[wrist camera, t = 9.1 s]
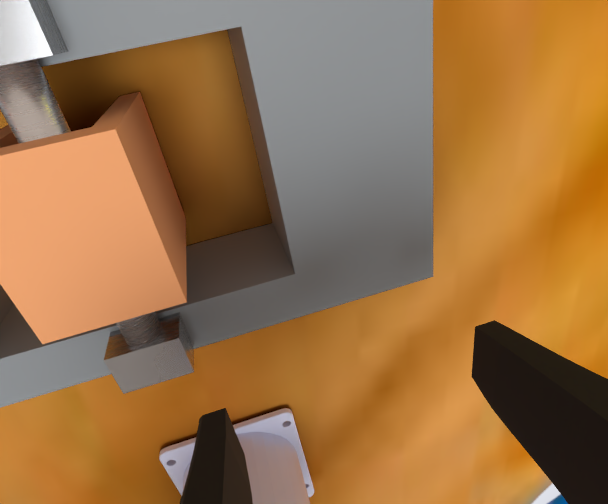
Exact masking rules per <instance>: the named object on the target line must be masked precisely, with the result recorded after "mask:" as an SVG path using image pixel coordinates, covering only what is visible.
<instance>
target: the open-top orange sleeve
mask: <svg viewBox="0 0 608 504" xmlns="http://www.w3.org/2000/svg"><path fill="white" fill-rule="evenodd" d="M0 284H1V286H2V287H3V289H4V290H5V291H6V293H7V294H8V296H9V297H10V299H11V300H12V301H13V303H14V304H15V306H16V307H17V309H18V310H19V312H20V313H21V314H22V316H23V317H24V319H25V320H26V322H27V323H28V324H29V326H30V327H31V329H32V330H33V332H34V333H35V334H36V336H37V337H38V339H39V340H40V342H41V343H42V344H45V343H49V342H52V341H56V340H59V339H63V338H66V337H69V336H73V335H76V334H80V333H83V332H87V331H90V330H93V329H97V328H100V327H104V326H107V325H111V324H114V323H117V322H121V321H124V320H128V319H131V318H135V317H138V316H141V315H145V314H148V313H152V312H155V311H159V310H162V309H165V308H169V307H172V306H176V305H179V304H183V303H186V302H187V276H186V217H185V214H184V212H183V209H182V206H181V203H180V201H179V198H178V195H177V192H176V190H175V187H174V184H173V181H172V179H171V176H170V173H169V170H168V168H167V165H166V162H165V159H164V157H163V154H162V151H161V148H160V146H159V143H158V140H157V137H156V135H155V132H154V129H153V126H152V124H151V121H150V118H149V115H148V113H147V110H146V107H145V104H144V102H143V99H142V96H141V93H140V92H136V93H132V94H127V95H123V96H119V97H118V98H117V100H116V101H115V102H114V103H113V104H112V105H111V106H110V107H109V109H108V110H107V111H106V112H105V113H104V114H103V115H102V116H101V117H100V119H99V120H98V121H97V122H96V123H95V124H94V125H93V126H92V127H90V128H85V129H81V130H77V131H72V132H68V133H63V134H59V135H55V136H50V137H46V138H41V139H37V140H33V141H28V142H24V143H20V144H19V143H18V141H17V139H16V138H15V136H14V134H13V132H12V130H11V128H10V127H9V125H7V126H5V127H4V128H2V129H0Z"/></svg>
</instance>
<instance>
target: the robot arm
mask: <svg viewBox="0 0 608 504" xmlns="http://www.w3.org/2000/svg"><path fill="white" fill-rule="evenodd" d="M472 378H473V379H474V381H475V382H476V384H477V386H478V387H479V389H480V390H481V392H482V394H483V395H484V397H485V398H486V400H487V401H488V403H489V404H490V406H491V407H492V409H493V410H494V411H495V413H496V414H497V415H498V416H499V418H500V419H501V420H502V421H503V423H504V424H505V425H506V426H507V428H508V429H509V430H510V431H511V433H512V434H513V435H514V436H515V437H516V439H517V440H518V441H519V442H520V444H521V445H522V446H523V447H524V448H525V450H526V451H527V452H528V453H529V455H530V456H531V457H532V458H533V459H534V461H535V462H536V463H537V464H538V465H539V467H540V468H541V469H542V470H543V472H544V473H545V474H546V475H547V476H548V478H549V479H550V480H551V481H552V483H553V484H554V485H555V487H556V488H557V489H558V491H559V492H560V493H561V494H562V496H563V497H564V498H565V500H566V501H567V503H568V504H608V379H606V378H604V377H602V376H600V375H598V374H596V373H594V372H592V371H590V370H588V369H586V368H584V367H582V366H580V365H578V364H576V363H574V362H572V361H570V360H568V359H566V358H564V357H562V356H560V355H558V354H556V353H554V352H553V351H551V350H549V349H547V348H545V347H543V346H541V345H539V344H538V343H536V342H534V341H532V340H530V339H528V338H526V337H525V336H523V335H521V334H519V333H517V332H515V331H514V330H512V329H510V328H508V327H506V326H504V325H502V324H500V323H498V322H497V321H492V322H488V323H485V324H482V325H479V326H476V327H475V337H474V352H473V366H472ZM159 459H160V461H161V463H162V465H163V466H164V468H165V469H166V471H167V473H168V474H169V476H170V478H171V479H172V481H173V483H174V484H175V486H176V488H177V489H178V491H179V492H180V494H181V496H182V497H181V501H180V504H310V501H309V497H311V496H312V495H313V494H314V488H313V484H312V481H311V477H310V474H309V470H308V467H307V463H306V460H305V456H304V452H303V449H302V445H301V442H300V438H299V435H298V431H297V428H296V424H295V421H294V417H293V414H292V411H291V410H290V409H288V408H283V409H280V410H277V411H274V412H271V413H268V414H265V415H262V416H259V417H256V418H253V419H249V420H246V421H243V422H240V423H237V424H234V425H232V423H231V420H230V418H229V415H228V413H227V410H226V408H224V409H221V410H218V411H215V412H212V413H208V414H205V415H202V417H201V418H200V420H199V425H198V431H197V436H196V437H195V438H192V439H189V440H186V441H183V442H180V443H177V444H174V445H171V446H168V447H165V448H163V449H162V450H161V451H160V453H159Z"/></svg>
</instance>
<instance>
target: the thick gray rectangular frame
mask: <svg viewBox="0 0 608 504" xmlns="http://www.w3.org/2000/svg"><path fill="white" fill-rule="evenodd" d="M226 29H227V31H228V35H229V39H230V44H231V48H232V52H233V56H234V61H235V65H236V69H237V73H238V78H239V82H240V86H241V90H242V95H243V99H244V103H245V107H246V112H247V116H248V120H249V125H250V129H251V133H252V137H253V142H254V146H255V150H256V154H257V159H258V163H259V167H260V171H261V176H262V180H263V184H264V188H265V193H266V197H267V201H268V206H269V210H270V214H271V218H272V223H271V224H267V225H263V226H260V227H256V228H252V229H248V230H245V231H241V232H237V233H233V234H230V235H226V236H222V237H219V238H215V239H211V240H207V241H204V242H200V243H196V244H193V245H189V246H186V276H187V302H186V303H183V304H179V305H176V306H172V307H169V308H165V309H162V310H159V311H155V312H152V313H148V314H145V315H141V316H138V317H135V318H131V319H128V320H124V321H121V322H117V323H114V324H111V325H107V326H104V327H100V328H97V329H93V330H90V331H87V332H83V333H80V334H76V335H73V336H69V337H66V338H63V339H59V340H56V341H52V342H49V343H45V344H42V343H41V342H40V340H39V339H38V337H37V336H36V334H35V333H34V332H33V330H32V329H31V327H30V326H29V324H28V323H27V322H26V320H25V319H24V317H23V316H22V314H21V313H20V312H19V310H18V309H17V307H16V306H15V304H14V303H13V301H12V300H11V299H10V297H9V296H8V294H7V293H6V291H5V290H4V289H3V287H2V286H1V284H0V407H4V406H7V405H10V404H14V403H17V402H20V401H24V400H27V399H30V398H33V397H37V396H40V395H43V394H47V393H50V392H53V391H57V390H60V389H63V388H67V387H70V386H73V385H76V384H80V383H83V382H86V381H90V380H93V379H96V378H100V377H103V376H106V375H110V374H112V375H113V377H114V379H115V380H116V382H117V384H118V385H119V387H120V389H121V390H122V392H123V394H124V393H128V392H131V391H134V390H137V389H141V388H144V387H147V386H150V385H153V384H157V383H160V382H163V381H166V380H170V379H173V378H176V377H179V376H183V375H186V374H189V373H192V372H194V349H196V348H199V347H202V346H205V345H209V344H212V343H215V342H219V341H222V340H225V339H229V338H232V337H235V336H238V335H242V334H245V333H248V332H252V331H255V330H258V329H262V328H265V327H268V326H272V325H275V324H278V323H281V322H285V321H288V320H291V319H295V318H298V317H301V316H305V315H308V314H311V313H315V312H318V311H321V310H324V309H328V308H331V307H334V306H338V305H341V304H344V303H348V302H351V301H354V300H358V299H361V298H364V297H367V296H371V295H374V294H377V293H381V292H384V291H387V290H391V289H394V288H397V287H401V286H404V285H407V284H410V283H414V282H417V281H420V280H424V279H427V278H430V277H433V0H0V110H1V112H2V114H3V115H4V117H5V119H6V121H7V123H8V125H9V127H10V128H11V130H12V132H13V134H14V136H15V138H16V139H17V141H18V143H19V144H20V143H24V142H28V141H33V140H37V139H41V138H46V137H50V136H55V135H59V134H63V133H68V132H71V130H70V128H69V126H68V124H67V122H66V119H65V117H64V115H63V113H62V111H61V109H60V107H59V104H58V102H57V100H56V98H55V96H54V94H53V91H52V89H51V87H50V85H49V83H48V81H47V79H46V76H45V74H44V72H43V70H42V68H41V67H43V66H48V65H53V64H58V63H62V62H67V61H72V60H77V59H82V58H87V57H92V56H97V55H102V54H107V53H112V52H117V51H122V50H127V49H132V48H137V47H142V46H147V45H152V44H157V43H162V42H167V41H172V40H177V39H182V38H187V37H192V36H197V35H202V34H206V33H211V32H216V31H221V30H226Z"/></svg>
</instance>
